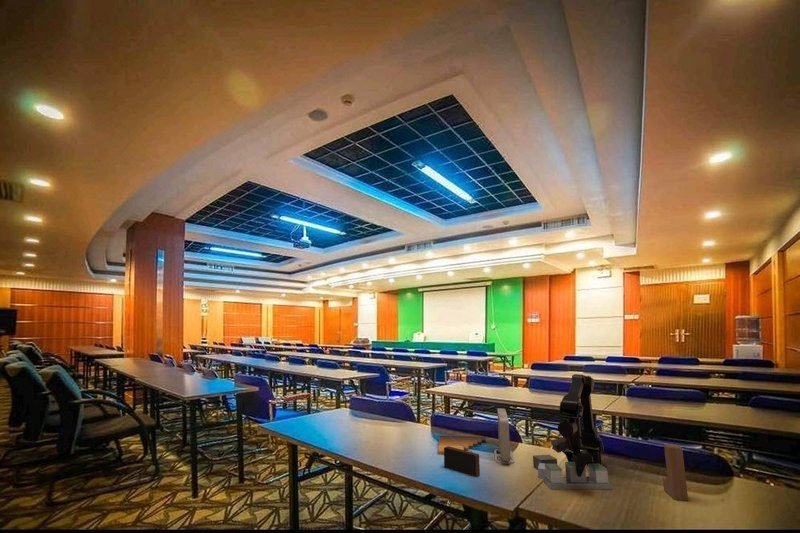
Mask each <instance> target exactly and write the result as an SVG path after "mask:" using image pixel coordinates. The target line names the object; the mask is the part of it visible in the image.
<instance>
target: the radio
mask: <svg viewBox="0 0 800 533" xmlns="http://www.w3.org/2000/svg"><path fill="white" fill-rule="evenodd" d="M440 432H441V433H442V434H444V436H448V437H449V436H450V435H447V434H446V433H445V432H443V431H442V430H440ZM450 438H451V437H450ZM451 439H452V438H451ZM453 440H454V439H453ZM454 441H455V440H454ZM456 442H457V441H456ZM457 443H458V442H457ZM459 444H460V443H459ZM460 445H461V444H460ZM462 446H463V445H462ZM463 447H464V446H463ZM465 448H466V447H465ZM466 449H467V448H466ZM468 450H469V451H465V450H461V449H457V448H453V447H449V446H447V447H445V448H444V454H443V468H444V469H447V470H451V471H454V472H458V473H460V474H464V475H467V476H471V477H475V478H477V477H479V476H480V475H481V474H480V473H481V470H480V469H481V468H480V454H479V453H476V452H473V451H472V450H470V449H468Z"/></svg>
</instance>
